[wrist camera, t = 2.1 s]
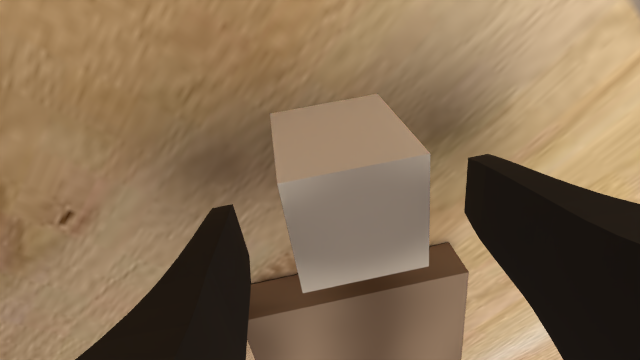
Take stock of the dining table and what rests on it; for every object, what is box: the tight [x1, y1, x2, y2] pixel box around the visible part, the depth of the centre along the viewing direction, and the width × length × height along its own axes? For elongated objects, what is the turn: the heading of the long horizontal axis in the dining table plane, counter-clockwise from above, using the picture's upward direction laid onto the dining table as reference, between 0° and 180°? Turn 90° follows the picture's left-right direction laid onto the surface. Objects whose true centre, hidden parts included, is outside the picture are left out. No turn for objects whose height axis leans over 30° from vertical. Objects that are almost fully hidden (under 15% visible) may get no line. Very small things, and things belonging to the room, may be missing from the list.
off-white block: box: [270, 94, 430, 293], centre depth 13 cm, size 4×4×5 cm
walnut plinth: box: [247, 243, 469, 360], centre depth 20 cm, size 10×10×2 cm
